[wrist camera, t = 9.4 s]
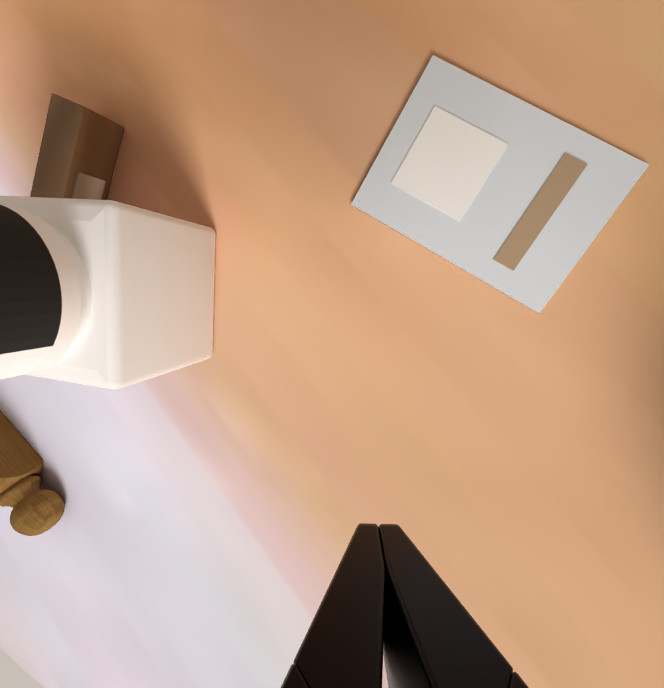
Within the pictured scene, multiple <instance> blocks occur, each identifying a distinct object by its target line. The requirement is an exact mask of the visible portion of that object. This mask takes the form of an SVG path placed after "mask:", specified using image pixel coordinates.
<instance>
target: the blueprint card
mask: <svg viewBox="0 0 664 688" xmlns="http://www.w3.org/2000/svg"><path fill="white" fill-rule="evenodd" d="M648 166H649V164H647V163H645V162H643V161H641V160H639V159H637V158H635V157H633V156H631V155H629V154H627V153H625V152H623V151H621V150H619V149H617V148H615V147H613V146H612V145H610V144H608V143H606V142H604V141H602V140H600V139H598V138H596V137H594V136H592V135H590V134H588V133H586V132H584V131H582V130H580V129H578V128H576V127H574V126H572V125H570V124H568V123H566V122H564V121H562V120H560V119H558V118H556V117H554V116H552V115H550V114H548V113H546V112H544V111H542V110H540V109H539V108H537V107H535V106H533V105H531V104H529V103H527V102H525V101H523V100H521V99H519V98H517V97H515V96H513V95H511V94H509V93H507V92H505V91H503V90H501V89H499V88H497V87H495V86H493V85H491V84H489V83H487V82H485V81H483V80H481V79H479V78H477V77H475V76H473V75H471V74H469V73H467V72H466V71H464V70H462V69H460V68H458V67H456V66H454V65H452V64H450V63H448V62H446V61H444V60H442V59H440V58H438V57H436V56H434V55H433V56H432V58H431V60H430V61H429V63H428V65H427V67H426V69H425V70H424V72H423V74H422V76H421V78H420V80H419V81H418V83H417V85H416V87H415V89H414V90H413V92H412V94H411V96H410V98H409V100H408V101H407V103H406V105H405V107H404V109H403V110H402V112H401V114H400V116H399V118H398V120H397V121H396V123H395V125H394V127H393V129H392V131H391V132H390V134H389V136H388V138H387V140H386V141H385V143H384V145H383V147H382V149H381V151H380V152H379V154H378V156H377V158H376V160H375V161H374V163H373V165H372V167H371V169H370V171H369V172H368V174H367V176H366V178H365V180H364V182H363V183H362V185H361V187H360V189H359V191H358V192H357V194H356V196H355V198H354V200H353V202H352V203H351V205H353V206H354V207H356V208H358V209H360V210H361V211H363V212H365V213H367V214H368V215H370V216H372V217H373V218H375V219H377V220H379V221H380V222H382V223H384V224H385V225H387V226H389V227H391V228H392V229H394V230H396V231H398V232H399V233H401V234H403V235H404V236H406V237H408V238H410V239H411V240H413V241H415V242H417V243H418V244H420V245H422V246H423V247H425V248H427V249H429V250H430V251H432V252H434V253H435V254H437V255H439V256H441V257H442V258H444V259H446V260H448V261H449V262H451V263H453V264H454V265H456V266H458V267H460V268H461V269H463V270H465V271H467V272H468V273H470V274H472V275H473V276H475V277H477V278H479V279H480V280H482V281H484V282H486V283H487V284H489V285H491V286H492V287H494V288H496V289H498V290H499V291H501V292H503V293H504V294H506V295H508V296H510V297H511V298H513V299H515V300H517V301H518V302H520V303H522V304H523V305H525V306H527V307H529V308H530V309H532V310H534V311H536V312H537V313H540V312H541V311H542V309H543V308H544V307H545V305H546V304H547V302H548V301H549V300H550V298H551V297H552V296H553V294H554V293H555V292H556V290H557V289H558V288H559V286H560V285H561V284H562V282H563V281H564V280H565V278H566V277H567V275H568V274H569V273H570V271H571V270H572V269H573V267H574V266H575V265H576V263H577V262H578V261H579V259H580V258H581V257H582V255H583V254H584V252H585V251H586V250H587V248H588V247H589V246H590V244H591V243H592V242H593V240H594V239H595V238H596V236H597V235H598V234H599V232H600V231H601V229H602V228H603V227H604V225H605V224H606V223H607V221H608V220H609V219H610V217H611V216H612V215H613V213H614V212H615V211H616V209H617V208H618V207H619V205H620V204H621V202H622V201H623V200H624V198H625V197H626V196H627V194H628V193H629V192H630V190H631V189H632V188H633V186H634V185H635V184H636V182H637V181H638V179H639V178H640V177H641V175H642V174H643V173H644V171H645V170H646V169H647V167H648Z"/></svg>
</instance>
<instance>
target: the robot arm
mask: <svg viewBox="0 0 664 688" xmlns="http://www.w3.org/2000/svg"><path fill="white" fill-rule="evenodd" d="M383 654H384V661H385V667H386V673H387V679H388V685H389V688H528V686H527V685H526V684H525V683H524V681H523V680H522V679H521V677H520V676H519V675H518V674H517V673H516V672H513V668H512V666H511V665H510V664H509V663H508V661H507V660H506V659H505V658H504V656H503V655H502V654H501V653H500V651H499V650H498V649H497V648H496V646H495V645H494V644H493V643H492V641H491V640H490V639H489V638H488V636H487V635H486V634H485V633H484V631H483V630H482V629H481V628H480V626H479V625H478V624H477V623H476V621H475V620H474V619H473V618H472V616H471V615H470V614H469V613H468V611H467V610H466V609H465V608H464V606H463V605H462V604H461V603H460V601H459V600H458V599H457V598H456V596H455V595H454V594H453V593H452V591H451V590H450V589H449V588H448V586H447V585H446V584H445V583H444V581H443V580H442V579H441V578H440V576H439V575H438V574H437V573H436V571H435V570H434V569H433V568H432V566H431V565H430V564H429V563H428V561H427V560H426V559H425V558H424V556H423V555H422V554H421V553H420V551H419V550H418V549H417V548H416V546H415V545H414V544H413V543H412V541H411V540H410V539H409V538H408V536H407V535H406V534H405V533H404V531H403V530H402V529H401V528H400V526H398V525H396V524H380V525H379V527H378V526H377V525H376V524H364V523H361V524H359V525H358V526H357V528H356V530H355V532H354V534H353V536H352V539H351V541H350V543H349V545H348V547H347V549H346V551H345V553H344V555H343V558H342V560H341V562H340V564H339V566H338V568H337V570H336V572H335V575H334V577H333V579H332V581H331V583H330V585H329V587H328V589H327V591H326V594H325V596H324V598H323V600H322V602H321V604H320V606H319V608H318V610H317V613H316V615H315V617H314V619H313V621H312V623H311V625H310V627H309V630H308V632H307V634H306V636H305V638H304V640H303V642H302V644H301V646H300V649H299V651H298V653H297V655H296V657H295V659H294V664H293V665H291V667H290V669H289V671H288V673H287V675H286V678H285V680H284V682H283V684H282V686H281V688H382V668H383Z"/></svg>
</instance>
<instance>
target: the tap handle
mask: <svg viewBox="0 0 664 688" xmlns="http://www.w3.org/2000/svg"><path fill="white" fill-rule="evenodd" d="M42 467H43V459H42V458H41V457H40V456H39V455H38V453H37V452H36V451H35V450H34V449H33V448H32V446H31V445H30V444H29V443H28V442H27V441H26V439H25V438H24V437H23V436H22V435H21V434H20V432H19V431H18V430H17V429H16V428H15V427H14V426H13V424H12V423H11V422H10V421H9V420H8V419H7V417H6V416H5V415H4V414H3V413H2V412H1V410H0V506H3V507H4V506H10V507H13V510H12V512H11V515H10V523H11V526H12V527H13V529H14V530H15V531H17V532H18V533H20V534H23V535H27V536H34V535H39V534H42V533H43V532H45V531H47V530H49V529H50V528H52V527H53V526H54V525H55V524H56V523H57V522H58V521H59V520H60V518H61V517H62V515H63V512H64V507H65V506H64V502H63V500H62V498H61V497H60V496H59V495H58V494H57V493H56V492H54V491H51V490H45V489H44V490H40V482H41V478H40V477H39V476H35V475H32V476H29V475H31V474H35V473H37V474H38V475H39V474H40V472H41V470H42ZM27 476H29V477H27ZM24 477H26V478H24ZM22 478H24V479H22ZM20 479H22V480H20ZM19 480H20V481H19ZM18 481H19V482H18Z"/></svg>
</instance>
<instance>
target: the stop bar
mask: <svg viewBox="0 0 664 688" xmlns="http://www.w3.org/2000/svg"><path fill="white" fill-rule="evenodd" d="M123 130H124V127H122V126H120V125H118V124H116V123H114V122H112V121H110V120H109V119H107V118H105V117H103V116H101V115H99V114H97V113H95V112H93V111H92V110H90V109H88V108H86V107H84V106H81V105H79V104H77V103H74V102H72V101H70V100H67V99H65V98H62V97H60V96H58V95H55V94H53V93H52V95H51V100H50V105H49V110H48V114H47V119H46V124H45V129H44V134H43V138H42V143H41V148H40V153H39V157H38V162H37V167H36V172H35V177H34V181H33V186H32V191H31V196H30V197H42V198H68V199H94V200H106V196H107V193H108V189H109V185H110V181H111V177H112V173H113V169H114V165H115V161H116V157H117V154H118V150H119V146H120V142H121V138H122V134H123Z"/></svg>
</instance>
